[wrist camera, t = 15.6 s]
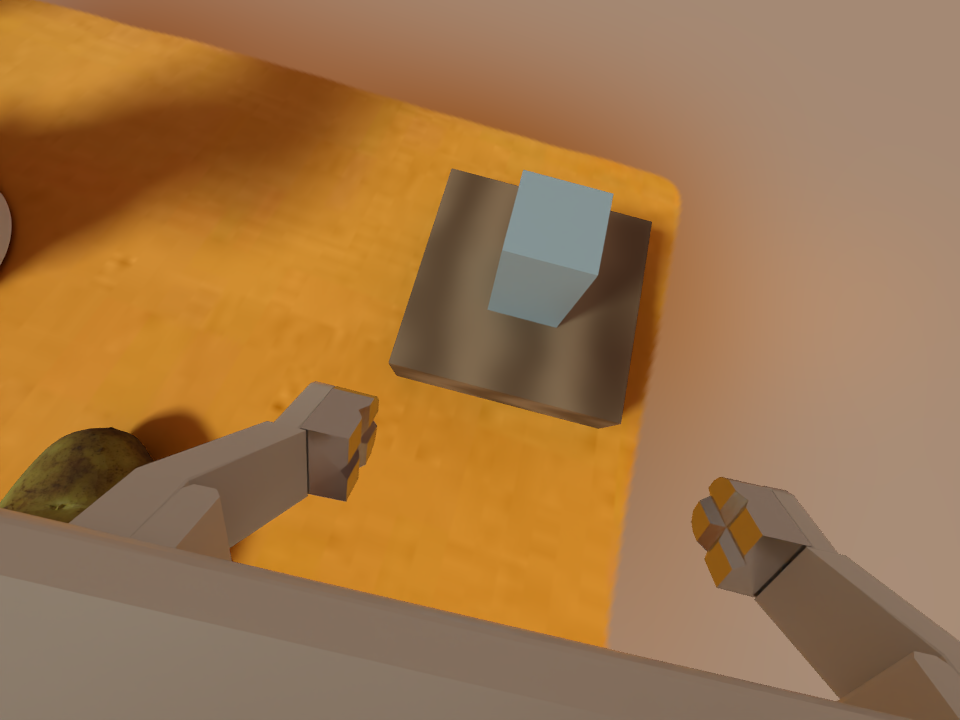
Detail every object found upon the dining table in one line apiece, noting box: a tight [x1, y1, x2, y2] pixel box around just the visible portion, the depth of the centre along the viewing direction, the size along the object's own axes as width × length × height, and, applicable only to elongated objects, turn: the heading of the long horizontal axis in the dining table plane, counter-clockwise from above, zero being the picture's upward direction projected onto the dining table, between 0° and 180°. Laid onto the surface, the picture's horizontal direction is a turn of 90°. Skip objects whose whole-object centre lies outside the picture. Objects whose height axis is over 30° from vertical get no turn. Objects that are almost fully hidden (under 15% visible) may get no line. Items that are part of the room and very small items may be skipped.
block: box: [488, 170, 613, 328], centre depth 24 cm, size 5×5×8 cm
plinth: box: [389, 169, 652, 429], centre depth 30 cm, size 16×16×4 cm
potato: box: [0, 427, 154, 523], centre depth 22 cm, size 8×13×8 cm, turn 164°
